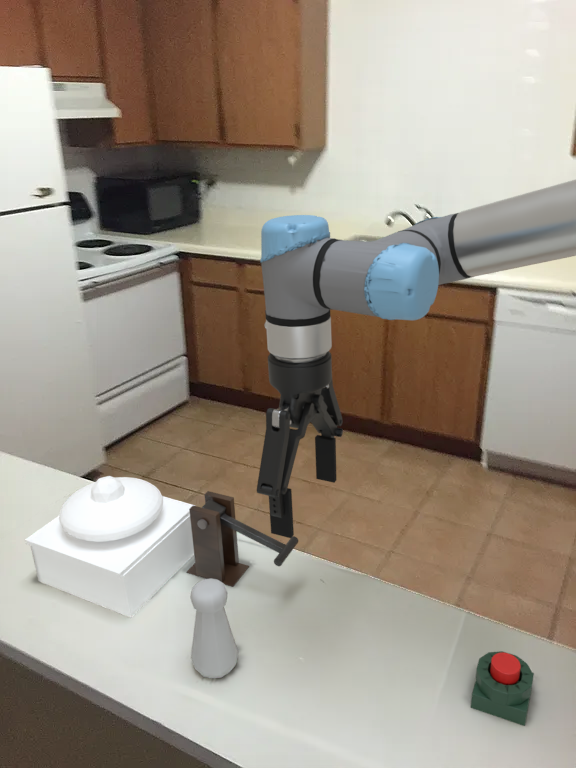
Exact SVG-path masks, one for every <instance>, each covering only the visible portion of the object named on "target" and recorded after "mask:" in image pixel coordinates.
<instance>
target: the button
mask: <svg viewBox="0 0 576 768" xmlns="http://www.w3.org/2000/svg"><path fill="white" fill-rule="evenodd" d="M503 652H504V651H503ZM503 652H502V653H497V654H495V655H494V656H493V657H492V660H491V668H490V673H491V676H492V677H493V679H494V680H495V681H497V682H498V683H501V684H504V685H513V684H515V683H516V682H517V681H518V680H519V676H520V668H521V665H520V662H519V660H518V659H517V658H516V657H515V656H513V655H514V654H513V655H511V654H512V653H510V652H506V653H503ZM509 653H510V654H509Z"/></svg>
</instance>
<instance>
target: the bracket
mask: <svg viewBox="0 0 576 768" xmlns="http://www.w3.org/2000/svg"><path fill="white" fill-rule="evenodd" d="M203 495H204V505H205V504H206V503H207V502H208V501H209V500H212V501H214V502H216V503H218V504H220V505H222V506H224V507H226V510H225V514H226V515H228V516H230V517H232V518H234V519H236V507H235V497H234V496H230V495H226V494H222V493H217V492H213V491H209V490H207V491H206V492H205V493H204V494H203ZM189 511H190V520H191V529H192V538H193V547H194V555H193V556H194V563H193V564H192V565H191V566H190V567H189V569H188V570H186V574H188V575H193V576H195V577H199V578H202V579H210V578H212V579H217V580H219V581H221V582H222V583H224V585H225V586H228V587H230V588H234V587H235V586H236V584H237V583H238V582H239V580H240V579H241V578H242V577H243V575H244V574H245V573H246V572H247V571H248V569H249V568H250V565H249V564H245V563H241V562H240V559H239V557H240V556H239V546H238V532H237V531H235V530H233V529H231V528H229V527H227V526H225V525H223V524H221V523H220V513H219V512H217V511H213V510H209V509H205V508H202V506H197V505H196V506H192V507H191V508H190V509H189Z"/></svg>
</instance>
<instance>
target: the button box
mask: <svg viewBox="0 0 576 768" xmlns="http://www.w3.org/2000/svg"><path fill="white" fill-rule="evenodd" d="M502 652H503V653H507V652H506V651H501V650H500V651H499V650H498V651H489V652H486V653H485V654H484V655H483V656H481V657H479V659H478V661H477V665H476V668H475V669H476V671H475V681H474V686H473V689H472V693H471V701H470V708H471V709H473V710H476V711H479V712H481V713H485V714H488V715H491V716H494V717H497V718H500V719H502V720H505V721H509V722H511V723H514V724H518V725H520V726H523V727H525V726H526V722H527V715H528V710H529V706H530V700H531V694H532V688H533V682H534V675H535V673H534V672H532V670H531V668H530V666H529V664H528V663H527V662H525V661H524V660H523V659H522V658H520V657H519V656H518V655H516V654H513V653H510V652H508V653H509V654H511V655H513V656H515V657H516V658H517V659H518V660H519V662H520V665H521V668H520V676H519V680H518V681H517V682H516V683H515V684H513V685H504V684H501V683H498V682H497V681H495V680H494V679H493V677H492V676H491V673H490V668H491V660H492V657H493V656H494V655H495V654H497V653H502Z"/></svg>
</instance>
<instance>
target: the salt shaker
mask: <svg viewBox="0 0 576 768" xmlns="http://www.w3.org/2000/svg"><path fill="white" fill-rule="evenodd" d="M227 601H228V589H227V587H226V585H225V584H224V583H222V582H221V581H219V580H217V579H212V578H210V579H205V578H203V579H202V580H200V581H198V582H196V584H194V585H193V586H192V588H191V591H190V602H191V604H192V607H193V609H194V610H195V617H194V618H195V619H194V626H193V635H192V644H191V652H190V659H191V663H192V665H193V667H194V670H195V671H197V672H198V673H199V674H200V675H201V676H202V677H203V678H209V679H218V678H220V679H222V678H223V677H224V676H226V675H228V674H230V673H231V672H232V670H233V669H235V667H236V665H237V661H238V657H239V649H238V645H237V643H236V640H235V636H234V634H233V631H232V628H231V625H230V622H229V619H228V615H227V612H226V608H225V606H226V604H227Z"/></svg>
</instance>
